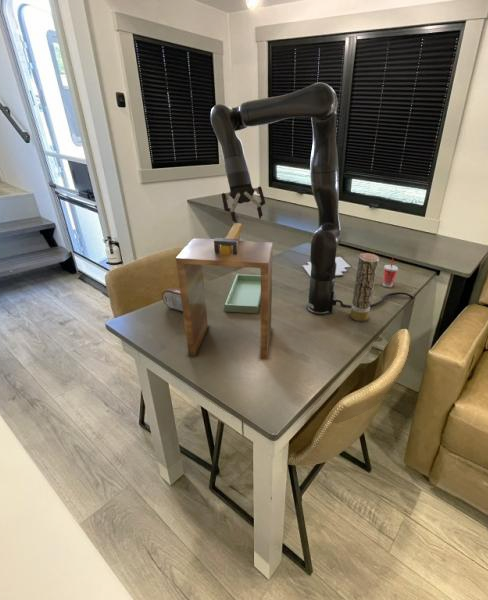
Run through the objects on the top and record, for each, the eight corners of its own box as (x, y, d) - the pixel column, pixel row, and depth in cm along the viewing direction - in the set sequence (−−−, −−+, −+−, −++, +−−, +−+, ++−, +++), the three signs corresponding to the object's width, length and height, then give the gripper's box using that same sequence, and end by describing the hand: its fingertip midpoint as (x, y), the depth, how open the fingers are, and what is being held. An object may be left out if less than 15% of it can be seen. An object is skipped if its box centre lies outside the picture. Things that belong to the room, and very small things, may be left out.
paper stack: (296, 259, 173) (296, 258, 173) (340, 256, 181) (340, 255, 180) (310, 278, 154) (310, 277, 154) (358, 274, 161) (359, 273, 161)
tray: (236, 280, 148) (236, 274, 146) (264, 281, 148) (264, 275, 147) (225, 311, 124) (224, 304, 123) (257, 313, 125) (257, 306, 123)
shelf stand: (271, 329, 116) (272, 231, 99) (267, 358, 102) (268, 250, 85) (202, 326, 115) (191, 226, 97) (188, 355, 101) (173, 244, 84)
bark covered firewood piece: (367, 323, 123) (379, 261, 111) (349, 320, 124) (358, 258, 112) (368, 314, 129) (379, 254, 117) (350, 311, 130) (360, 252, 118)
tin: (201, 312, 123) (199, 292, 118) (196, 316, 120) (194, 296, 116) (168, 303, 126) (164, 284, 122) (162, 307, 124) (159, 287, 120)
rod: (242, 230, 109) (241, 223, 107) (229, 255, 89) (229, 246, 88) (234, 230, 108) (234, 223, 107) (220, 254, 89) (220, 246, 88)
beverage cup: (393, 282, 156) (399, 255, 149) (394, 288, 150) (401, 260, 144) (380, 281, 156) (385, 253, 149) (381, 287, 151) (387, 258, 144)
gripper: (215, 174, 107) (227, 225, 112) (258, 167, 108) (268, 217, 113) (218, 176, 114) (229, 223, 119) (258, 169, 115) (268, 216, 120)
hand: (248, 220), depth 116 cm, fingers open, 8 cm apart
